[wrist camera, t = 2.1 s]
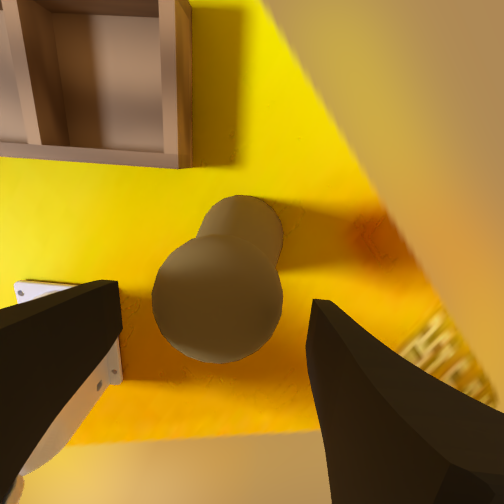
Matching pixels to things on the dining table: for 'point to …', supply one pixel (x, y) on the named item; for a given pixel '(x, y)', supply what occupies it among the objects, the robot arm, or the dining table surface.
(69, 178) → the dining table surface
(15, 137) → the spice rack
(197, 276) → the pepper mill
